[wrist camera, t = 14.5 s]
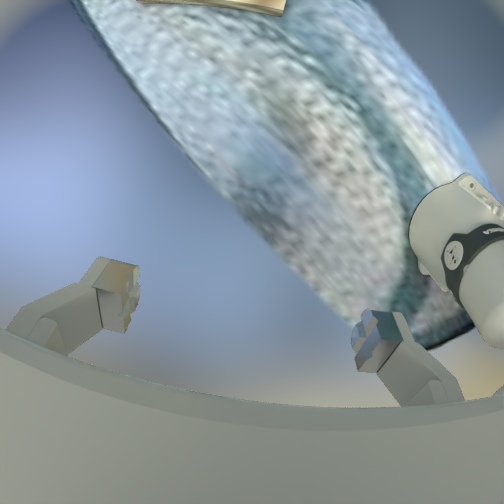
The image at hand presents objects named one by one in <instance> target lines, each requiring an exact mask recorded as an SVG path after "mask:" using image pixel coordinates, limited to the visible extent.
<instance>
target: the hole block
mask: <svg viewBox="0 0 504 504" xmlns="http://www.w3.org/2000/svg"><path fill="white" fill-rule="evenodd" d="M136 1H138V2H140V3H179V4H197V5H209V6H218V7H227V8H234V9H241V10H247V11H253V12H259V13H264V14H269V15H274V16H279V17H282V13H283V10H284V6H285V2H286V0H136Z"/></svg>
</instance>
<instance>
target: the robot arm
mask: <svg viewBox="0 0 504 504" xmlns="http://www.w3.org/2000/svg"><path fill="white" fill-rule="evenodd" d="M471 183H472V184H471ZM470 184H471V186H470ZM409 239H410V244H411V247H412V249H413V251H414V253H415V254H416V256H417V258H418V268H419V271H420V272H421V273H422V274H423V275H430V276H431V277H432V278H433V279H434V281H435V282H436V283H437V284H438V286H439V287H440V288H441V289H442V290H443V291H444V292H447V291H448V292H451V295H452V296H453V298H454V299H455V301H456V302H458V304H459V305H460V306H461V307H462V308H464V309H466V311H467V313H468V314H469V316H470V318H471V319H472V321H473V323H474V324H475V326H476V328H477V329H478V331H479V333H480V334H481V336H482V338H483V340H484V341H485V342H486V343H488V344H489V345H491V346H492V347H495V348H499V349H504V207H503V206H502V205H501V204H500V203H499V202H498V201H497V200H496V199H495V198H494V197H493V196H492V195H491V194H490V193H489V192H488V191H487V190H486V189H485V188H484V187H483V186H482V185H481V184H480V183H479V182H478V181H476V180H475V179H474V178H473V177H472V176H471V175H470V174H468V173H464V174H462V175H461V176H460V177H458V178H457V179H456V180H455V181H454V182H452V183H450V184H447V185H444V186H441V187H439V188H437V189H435V190H433V191H432V192H431V193H429V194H428V195H427V196H426V197H425V198H424V199H423V200H422V202H421V203H420V204H419V206H418V207H417V209H416V211H415V213H414V215H413V217H412V220H411V224H410V230H409ZM139 276H140V268H139V266H137V265H133V264H129V263H125V262H121V261H118V260H114V259H109V258H105V257H98V258H96V260H95V261H94V263H93V264H92V265H91V267H90V268H89V269H88V271H87V272H86V273H85V275H84V276H83V277H82V279H81V281H80V282H79V283H73V284H70V285H68V286H66V287H64V288H62V289H60V290H57V291H55V292H53V293H51V294H48V295H46V296H44V297H42V298H40V299H38V300H36V301H34V302H31V303H30V304H27V305H25V306H23V307H22V308H21V309H20V310H19V311H18V313H17V314H16V316H15V317H14V319H13V320H12V321H11V323H10V324H9V325H8V327H7V328H6V330H3V329H1V328H0V504H504V385H503V386H502V387H501V388H499V389H498V390H497V391H496V392H495V393H494V394H493V395H492V396H491V397H487V398H480V399H474V400H467V401H465V399H464V396H463V394H462V391H461V389H460V387H459V384H458V381H457V379H456V378H455V377H454V376H453V375H452V374H451V373H450V372H449V371H448V370H447V369H446V368H445V367H444V366H442V364H440V363H439V362H438V361H437V360H436V359H435V358H434V357H433V356H432V355H431V354H430V353H429V352H428V351H426V350H425V349H424V348H423V347H422V346H421V345H420V344H419V343H415V341H414V339H413V336H412V334H411V332H410V329H409V327H408V325H407V323H406V320H405V318H404V316H403V314H401V313H400V312H391V311H389V312H388V311H381V310H374V309H366V310H365V311H364V312H363V313H362V315H361V319H362V321H361V322H359V323H358V324H356V325H355V327H354V329H353V331H352V335H351V346H352V349H353V350H354V351H355V352H356V353H357V354H356V356H355V362H356V366H357V370H358V372H370V373H377V375H378V377H379V378H380V379H381V381H382V382H383V383H384V385H385V386H386V387H387V388H388V390H389V391H390V392H391V394H392V395H393V396H394V398H395V399H396V400H397V401H398V403H399V404H400V406H401V407H381V408H342V407H341V408H340V407H316V406H300V405H288V404H277V403H267V402H259V401H250V400H243V399H236V398H229V397H223V396H217V395H211V394H205V393H200V392H195V391H190V390H185V389H180V388H175V387H171V386H167V385H162V384H158V383H154V382H150V381H146V380H142V379H138V378H134V377H131V376H127V375H124V374H120V373H117V372H113V371H110V370H106V369H103V368H100V367H96V366H94V365H91V364H88V363H84V362H82V361H79V360H76V359H73V358H70V357H68V354H69V353H71V352H72V351H74V350H75V349H76V348H78V347H79V346H80V345H82V344H83V343H84V342H86V341H87V340H89V339H90V338H91V337H93V336H94V335H96V334H97V333H98V332H99V331H101V330H102V328H104V329H107V330H111V331H115V332H120V333H124V334H125V332H126V330H127V328H128V325H129V323H130V321H131V313H132V312H134V311H135V310H136V307H137V305H138V301H139V297H140V285H139V283H138V282H137V280H138V278H139Z"/></svg>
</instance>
